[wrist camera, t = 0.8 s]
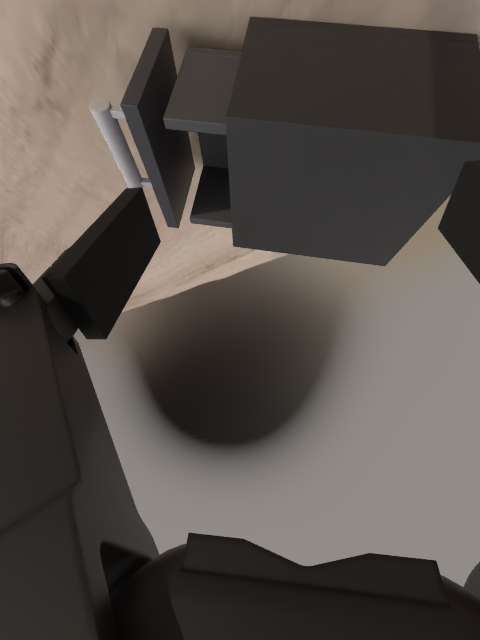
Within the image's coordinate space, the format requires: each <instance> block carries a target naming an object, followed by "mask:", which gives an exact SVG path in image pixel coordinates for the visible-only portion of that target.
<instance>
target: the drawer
mask: <svg viewBox="0 0 480 640" xmlns="http://www.w3.org/2000/svg"><path fill="white" fill-rule="evenodd" d="M241 52H242V51H232V50H220V49H208V48H197V47H188V48H187V51H186V54H185V56H184V59H183V62H182V65H181V68H180V71H179V74H178V77H177V73H176V67H175V62H174V57H173V52H172V47H171V42H170V36H169V31H168V29H164V28H153V29H152V31H151V33H150V36H149V38H148V40H147V43H146V45H145V47H144V50H143V52H142V55H141V57H140V59H139V62H138V64H137V66H136V69H135V71H134V73H133V76H132V78H131V81H130V83H129V85H128V88H127V90H126V92H125V95H124V97H123V99H122V102H121V104H120V105H121V107H117V106H111V104H110V102H109V101H108V100H107V99H105V98H98V99H95V100H93V101H92V102H91V103H90V110H91V112H92V114H93V116H94V118H95V120H96V122H97V124H98V126H99V128H100V130H101V132H102V134H103V136H104V139H105V141H106V143H107V145H108V147H109V149H110V151H111V153H112V155H113V157H114V159H115V161H116V163H117V165H118V167H119V169H120V171H121V173H122V175H123V177H124V179H125V181H126V183H127V185H128V187H129V188H138V187H143V186H144V187H152V188H153V190H154V192H155V195H156V197H157V200H158V203H159V205H160V208H161V210H162V213H163V215H164V218H165V220H166V223H167V226H168V227H173V228H179V225H180V221H181V218H182V214H183V210H184V207H185V203H186V199H187V196H188V192H189V188H190V185H191V181H192V177H193V174H194V170H195V166H194V160H193V155H192V150H191V145H190V140H189V135H188V131H191V132H198V134H199V140H200V146H201V153H202V159H203V165H204V166H203V169H202V173H201V177H200V181H199V185H198V188H197V192H196V196H195V200H194V204H193V207H192V211H191V215H190V221H191V223H194V224H202V225H210V226H218V227H226V228H232V218H231V202H230V185H229V169H228V152H227V136H226V120H225V116H226V112H227V108H228V105H229V101H230V97H231V93H232V88H233V84H234V80H235V76H236V72H237V68H238V64H239V60H240V56H241ZM117 119H124V120H126V121H127V123H128V126H129V129H130V131H131V134H132V136H133V139H134V141H135V144H136V146H137V149H138V151H139V154H140V157H141V159H142V162H143V164H144V167H145V169H146V172H147V174H148V177H149V179H148V178H142V177H141V175H140V173H139V170H138V168H137V166H136V163H135V161H134V158H133V156H132V154H131V151H130V149H129V147H128V144H127V142H126V139H125V137H124V135H123V132H122V130H121V128H120V125H119V123H118V120H117Z"/></svg>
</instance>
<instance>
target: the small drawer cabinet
mask: <svg viewBox="0 0 480 640" xmlns="http://www.w3.org/2000/svg"><path fill="white" fill-rule="evenodd" d="M225 120H226V136H227V152H228V169H229V185H230V202H231V218H232V235H233V246H234V247H242V248H250V249H257V250H265V251H272V252H280V253H288V254H296V255H303V256H311V257H318V258H326V259H334V260H341V261H349V262H357V263H365V264H372V265H380V266H385V265H386V264H388V262H389V261H390V260H391V259H392V258H393V257H394V256H395V255H396V253H398V252H399V250H400V249H401V248H402V247H403V246H404V245H405V244H406V243H407V242H408V241H409V239H410V238H411V237H412V236H413V235H414V234H415V233H416V232H417V231H418V230H419V229H420V227H421V226H422V225H423V224H424V223H425V222H426V221H427V220H428V219H429V218H430V217H431V216H432V214H433V213H434V212H435V211H436V210H437V209H438V208H439V207H440V206H441V204H443V202H444V201H445V200H446V199H447V198H448V197H449V196H450V195H451V194H452V192H453V189H454V187H455V184H456V182H457V179H458V177H459V174H460V172H461V169H462V167H463V165H464V162H465V161H475V160H480V49H479V43H478V38H477V35H473V34H460V33H447V32H435V31H422V30H409V29H397V28H384V27H371V26H359V25H346V24H333V23H320V22H308V21H295V20H282V19H270V18H257V17H250V20H249V24H248V28H247V32H246V36H245V40H244V44H243V48H242V52H241V56H240V60H239V64H238V68H237V72H236V76H235V80H234V84H233V88H232V93H231V97H230V101H229V105H228V108H227V112H226V116H225Z"/></svg>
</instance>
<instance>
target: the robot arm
mask: <svg viewBox="0 0 480 640" xmlns="http://www.w3.org/2000/svg"><path fill="white" fill-rule="evenodd" d="M438 229H439V231H440V232H441V233H442V234H443V236H444V237H445V238H446V240H447V241H448V242H449V244H450V245H451V246H452V248H453V249H454V250H455V252H456V253H457V254H458V256H459V257H460V258H461V260H462V261H463V262H464V264H465V265H466V266H467V268H468V269H469V270H470V272H471V273H472V274H473V276H474V277H475V278H476V279H477V281H478V282H479V283H480V160H475V161H465V162H464V165H463V167H462V169H461V172H460V174H459V177H458V179H457V182H456V184H455V187H454V189H453V192H452V194H451V197H450V200H449V202H448V204H447V207H446V209H445V212H444V214H443V217H442V219H441V222H440V224H439V227H438ZM160 242H161V241H160V238H159V235H158V232H157V229H156V227H155V224H154V221H153V218H152V215H151V212H150V209H149V206H148V203H147V200H146V197H145V195H144V192H143V189H142V187H138V188H126V189H125V190H124V191H123V192H122V193H121V194H120V196H119V197H118V198H117V199H116V200H115V201H114V202H113V203H112V204H111V205H110V206H109V207H108V208H107V209H106V210H105V211H104V212H103V213H102V215H101V216H100V217H99V218H98V219H97V220H96V221H95V222H94V223H93V224H92V225H91V226H90V227H89V228H88V229H87V230H86V231H85V232H84V234H83V235H82V236H81V237H80V238H79V239H78V240H77V241H76V242H75V243H74V244H73V245H72V246H71V247H70V248H68V249H67V250H65V251H64V252H63V253H62V254H61V255H60V257H59V258H58V260H56V261H55V262H54V263H53V264H52V266H51V267H49V268H48V269H47V270H46V271H45V272H44V273H43V274H42V275H41V276H40V277H39V278H38V279H37V281H36V282H35V283H34V284H33V285H32V284H31V282H30V281H29V280H28V278H27V277H26V276H25V275H24V273H23V272H22V271H21V270H20V268H19V267H18V266H17V265H16V264H13V263H5V264H0V640H480V562H479V563H478V564H477V565H476V566H475V568H474V569H473V570H472V572H471V574H470V575H469V577H468V579H467V581H466V583H465V585H464V587H462V586H460V585H458V584H456V583H455V582H453V581H451V580H449V579H448V578H446V577H444V576H441V575H440V572H439V569H438V565H437V562H436V561H434V560H426V559H416V558H407V557H399V556H390V555H381V554H373V553H368V554H364V555H359V556H355V557H350V558H346V559H341V560H337V561H333V562H328V563H323V564H319V565H315V566H302V565H299V564H297V563H295V562H293V561H290V560H288V559H286V558H284V557H282V556H280V555H277V554H275V553H273V552H271V551H269V550H266V549H264V548H262V547H260V546H258V545H255V544H253V543H251V542H249V541H247V540H245V539H240V538H230V537H222V536H212V535H204V534H195V533H189V534H188V539H187V544H183V545H180V546H178V547H175V548H172V549H170V550H167V551H166V552H164V553H162V554H160V555H159V553H158V550H157V547H156V545H155V542H154V540H153V537H152V536H151V534H150V532H149V530H148V528H147V527H146V525H145V524H144V522H143V521H142V519H141V517H140V516H139V514H138V511H137V509H136V506H135V504H134V500H133V498H132V495H131V492H130V489H129V486H128V484H127V480H126V478H125V475H124V472H123V469H122V466H121V463H120V461H119V458H118V455H117V452H116V449H115V446H114V443H113V440H112V438H111V435H110V432H109V429H108V426H107V423H106V421H105V418H104V415H103V412H102V409H101V406H100V403H99V400H98V398H97V395H96V392H95V389H94V386H93V383H92V381H91V378H90V375H89V372H88V369H87V366H86V363H85V361H84V358H83V355H82V352H81V349H80V346H79V343H78V342H77V340H76V339H75V338H74V337H73V335H74V334H75V332H76V331H77V329H78V328H79V329H80V331H81V332H82V333H83V335H84V336H85V337H86V339H107V337H108V335H109V333H110V332H111V330H112V328H113V326H114V324H115V323H116V321H117V319H118V317H119V316H120V314H121V312H122V310H123V308H124V307H125V305H126V303H127V301H128V299H129V298H130V296H131V294H132V292H133V291H134V289H135V287H136V285H137V283H138V282H139V280H140V278H141V276H142V274H143V273H144V271H145V269H146V267H147V265H148V264H149V262H150V260H151V258H152V257H153V255H154V253H155V251H156V249H157V248H158V246H159V244H160Z"/></svg>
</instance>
